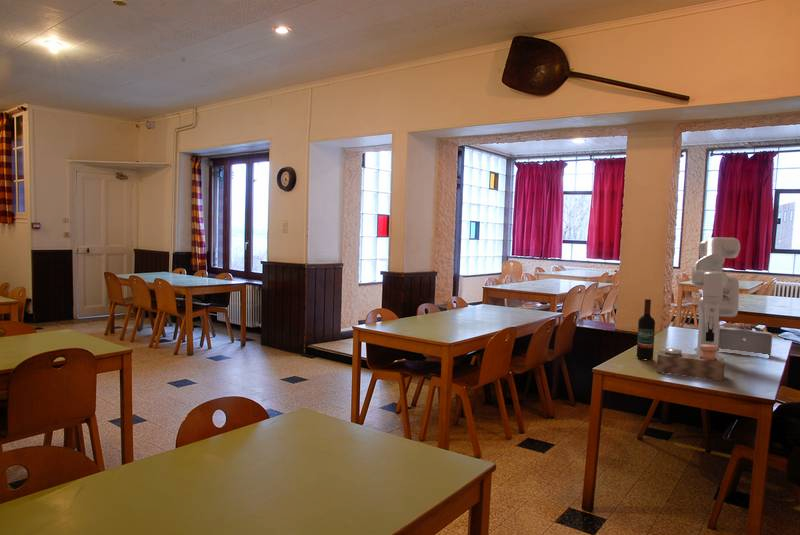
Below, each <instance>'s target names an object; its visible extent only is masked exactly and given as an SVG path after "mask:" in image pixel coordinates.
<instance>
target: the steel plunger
mask: <svg viewBox="0 0 800 535" xmlns="http://www.w3.org/2000/svg"><path fill="white" fill-rule="evenodd" d="M664 351H665V353H667V355H671V356H680V355H681V354H682V353H683V352H682V350H681V349H678V348H674V347H673V348H670V347H669V348H667V347H666V348H665V349H664Z"/></svg>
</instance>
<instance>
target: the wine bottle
mask: <svg viewBox="0 0 800 535" xmlns="http://www.w3.org/2000/svg"><path fill="white" fill-rule="evenodd" d="M651 304H652V299H646V298H645V299H644V308H643V310H644V311H643V315H642V316H640V317H639V319H638V321H637V322H638V324H637V340H636V343H637V344H636V357H638V358H640V359H647V360H646V361H649V360H650V361H652V360H651V359H653V360H654V346H655V329H656V321H655V318H653V317H652V315H651V309H652V308H651V306H652V305H651ZM640 359H639V360H640Z"/></svg>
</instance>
